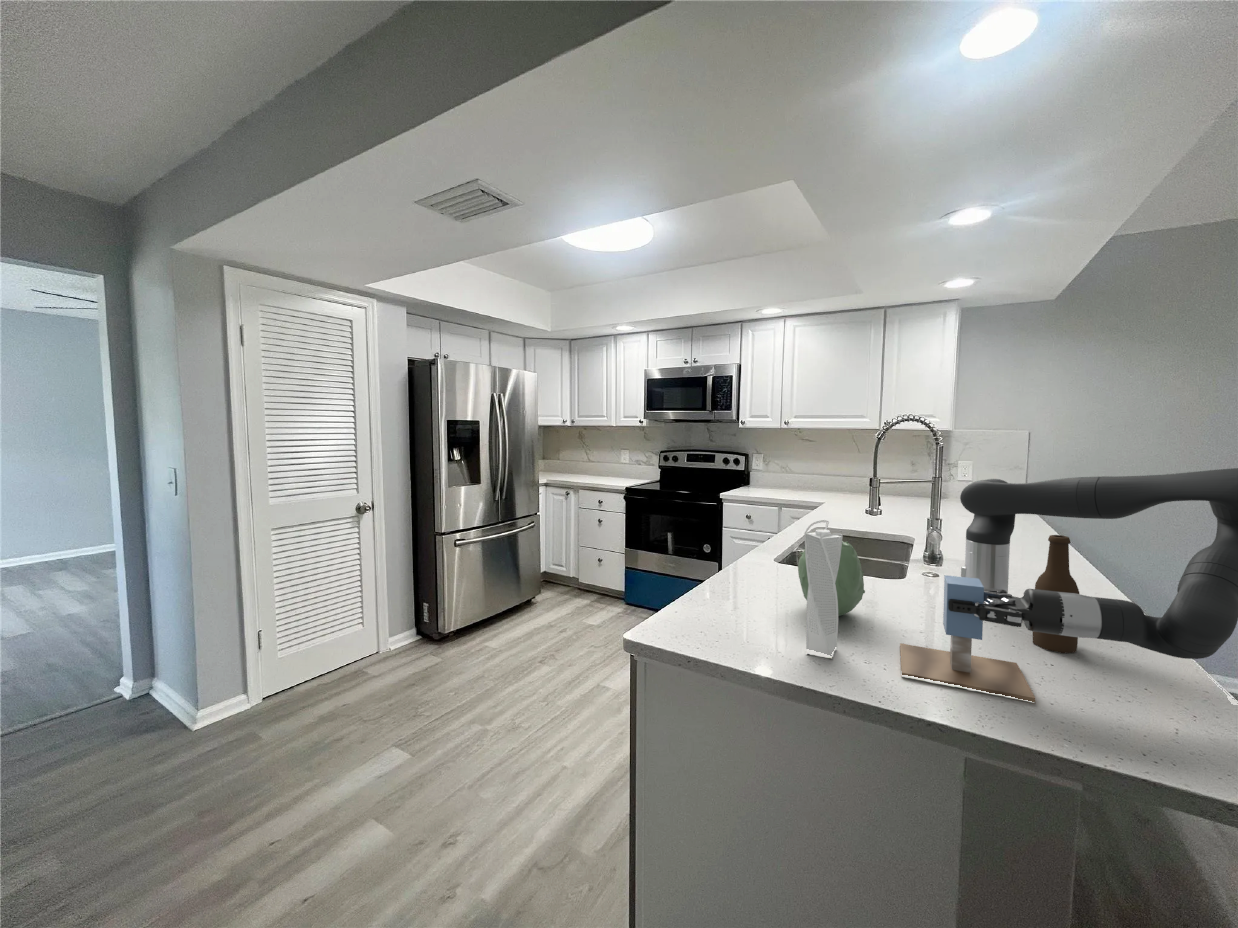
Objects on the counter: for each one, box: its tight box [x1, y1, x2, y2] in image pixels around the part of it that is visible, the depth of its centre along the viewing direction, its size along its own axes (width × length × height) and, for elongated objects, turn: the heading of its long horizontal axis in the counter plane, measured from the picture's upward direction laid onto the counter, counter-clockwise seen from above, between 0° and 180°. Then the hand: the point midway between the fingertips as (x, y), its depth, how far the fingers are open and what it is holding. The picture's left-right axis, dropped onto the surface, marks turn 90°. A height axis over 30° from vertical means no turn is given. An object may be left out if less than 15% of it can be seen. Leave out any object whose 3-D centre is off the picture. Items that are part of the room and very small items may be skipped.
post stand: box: [899, 635, 1036, 703], centre depth 96 cm, size 20×14×8 cm
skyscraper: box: [804, 519, 843, 656], centre depth 105 cm, size 8×8×28 cm
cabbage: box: [797, 540, 866, 617], centre depth 126 cm, size 16×19×20 cm
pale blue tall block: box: [942, 574, 984, 641], centre depth 95 cm, size 6×6×10 cm
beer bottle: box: [1032, 534, 1081, 654], centre depth 105 cm, size 8×8×24 cm
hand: (947, 599), depth 96 cm, fingers closed on pale blue tall block, 5 cm apart
